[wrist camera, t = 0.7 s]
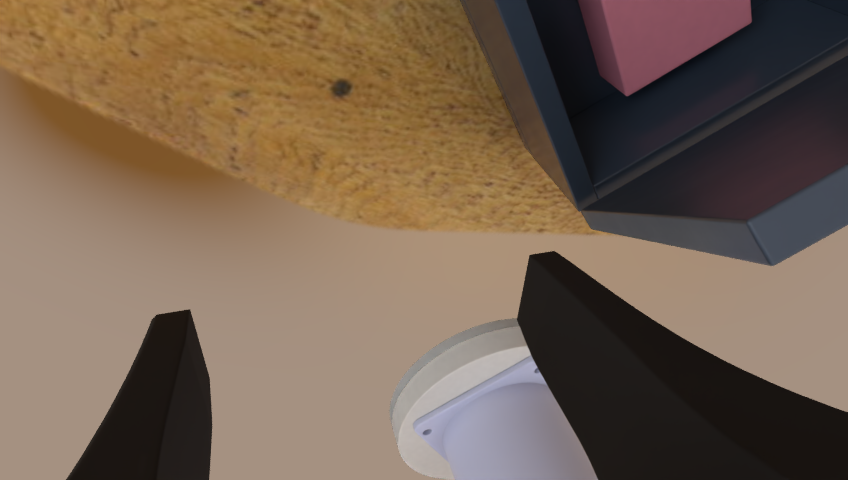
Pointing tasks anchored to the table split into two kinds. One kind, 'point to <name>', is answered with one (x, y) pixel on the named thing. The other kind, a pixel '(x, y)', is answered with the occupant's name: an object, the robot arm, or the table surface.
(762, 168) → the lid
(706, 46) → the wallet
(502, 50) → the box
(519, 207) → the table surface
